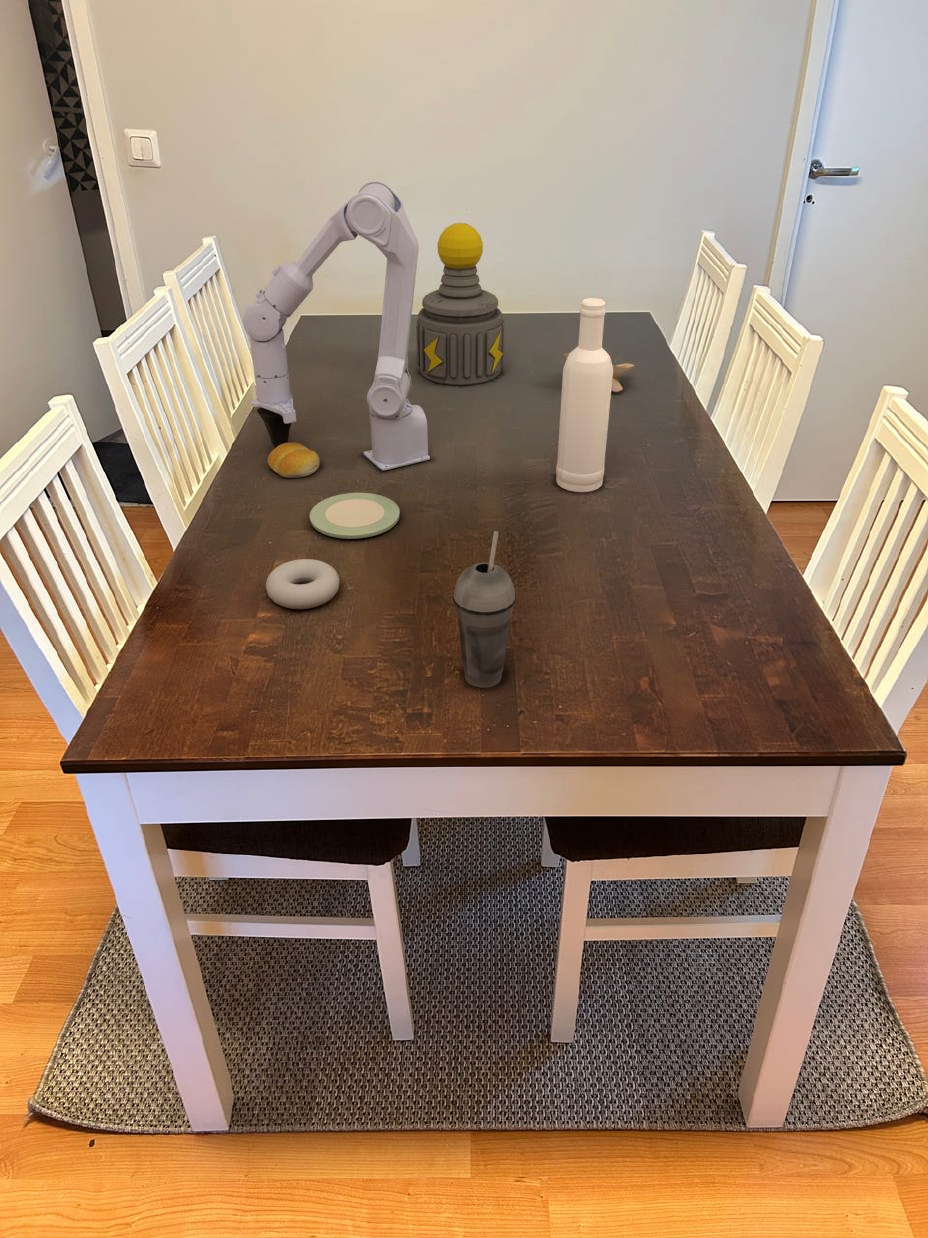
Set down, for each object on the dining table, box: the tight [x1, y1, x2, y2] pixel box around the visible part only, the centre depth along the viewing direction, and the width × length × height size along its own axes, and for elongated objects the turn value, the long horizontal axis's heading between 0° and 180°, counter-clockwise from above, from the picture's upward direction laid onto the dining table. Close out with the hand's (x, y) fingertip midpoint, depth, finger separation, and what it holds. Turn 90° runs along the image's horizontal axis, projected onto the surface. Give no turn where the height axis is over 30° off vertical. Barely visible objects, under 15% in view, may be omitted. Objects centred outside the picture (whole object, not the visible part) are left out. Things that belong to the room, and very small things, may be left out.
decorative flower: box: [560, 352, 636, 393], centre depth 190 cm, size 15×11×10 cm
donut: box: [265, 558, 341, 610], centre depth 127 cm, size 10×4×10 cm
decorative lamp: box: [415, 222, 505, 387], centre depth 191 cm, size 19×19×30 cm
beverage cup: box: [452, 530, 517, 689], centre depth 107 cm, size 7×7×20 cm
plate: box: [309, 492, 401, 540], centre depth 145 cm, size 14×14×1 cm
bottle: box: [555, 297, 613, 493], centre depth 148 cm, size 8×8×30 cm
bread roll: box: [267, 441, 321, 479], centre depth 159 cm, size 8×9×4 cm
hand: (280, 447), depth 164 cm, fingers closed
